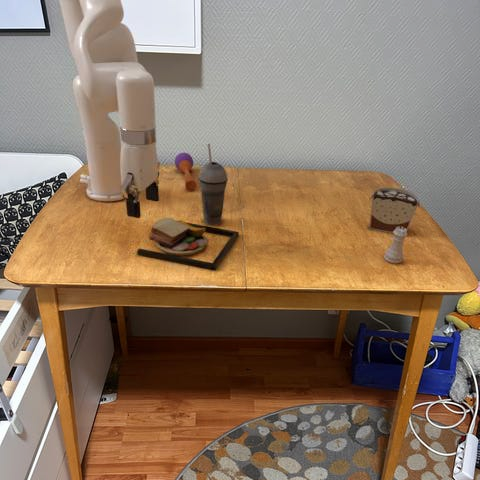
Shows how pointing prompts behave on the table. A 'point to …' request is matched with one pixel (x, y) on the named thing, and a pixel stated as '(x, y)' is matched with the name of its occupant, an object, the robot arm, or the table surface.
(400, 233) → the rook chess piece
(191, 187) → the purple maraca
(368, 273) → the table surface
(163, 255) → the frame
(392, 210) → the food container
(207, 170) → the beverage cup
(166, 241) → the toy sandwich meal
